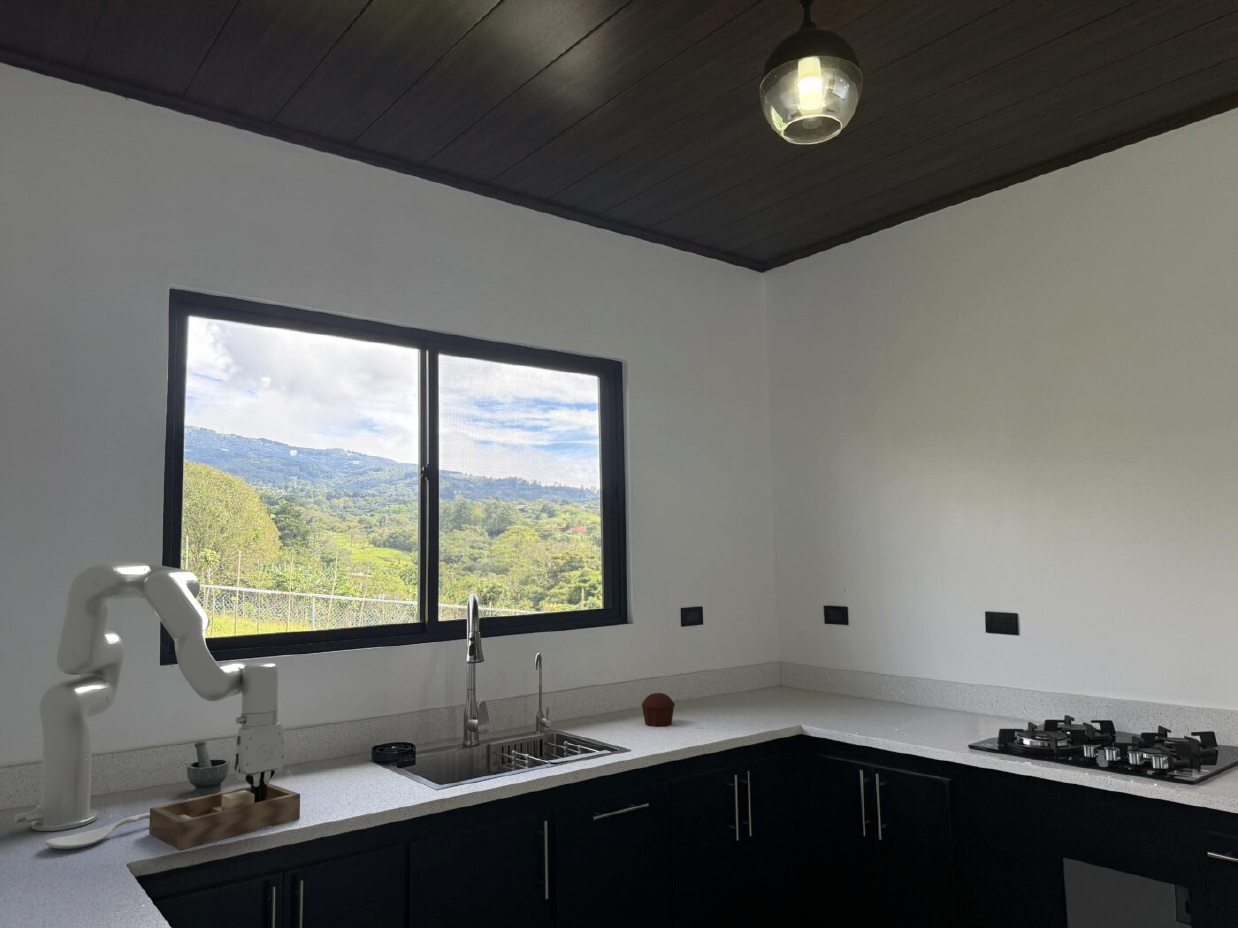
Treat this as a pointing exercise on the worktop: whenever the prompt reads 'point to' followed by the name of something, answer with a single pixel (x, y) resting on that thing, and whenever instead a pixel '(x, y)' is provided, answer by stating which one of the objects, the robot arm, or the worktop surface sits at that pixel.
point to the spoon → (90, 835)
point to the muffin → (658, 710)
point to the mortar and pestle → (207, 771)
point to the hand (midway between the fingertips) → (258, 802)
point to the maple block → (237, 799)
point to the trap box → (220, 817)
